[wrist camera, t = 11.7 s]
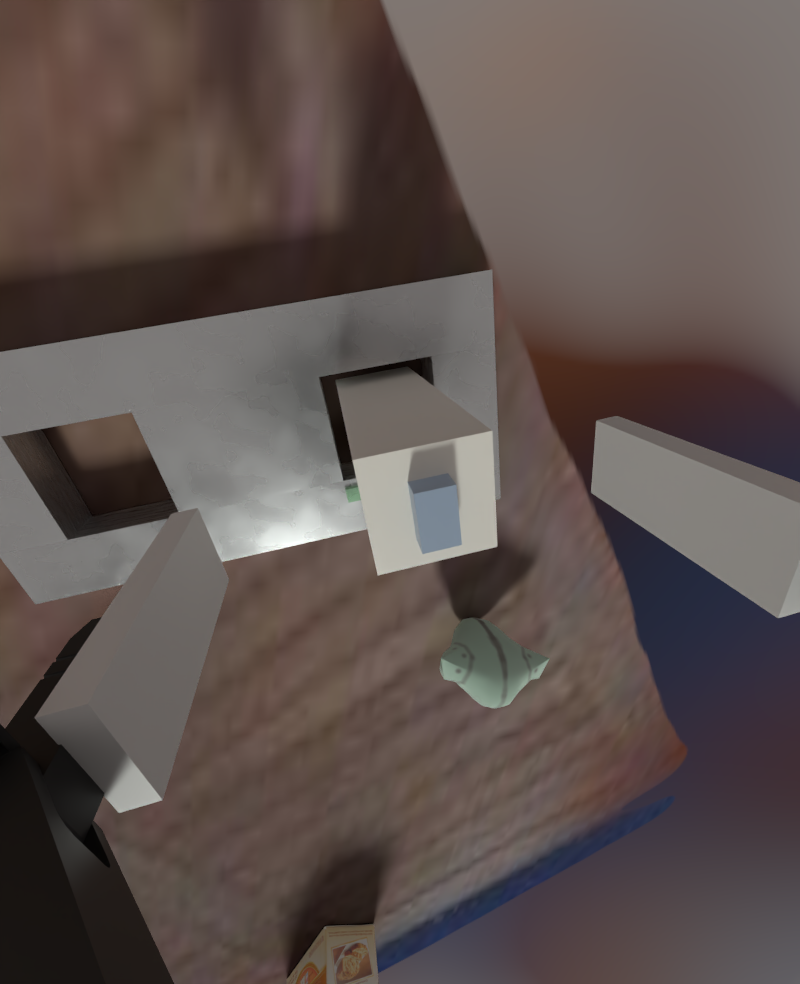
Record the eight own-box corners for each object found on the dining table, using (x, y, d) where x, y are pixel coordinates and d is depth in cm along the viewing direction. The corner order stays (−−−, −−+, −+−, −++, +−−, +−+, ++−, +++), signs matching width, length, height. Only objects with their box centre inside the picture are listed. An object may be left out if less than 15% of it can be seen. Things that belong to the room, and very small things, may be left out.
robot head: (521, 604, 31) (570, 676, 25) (505, 643, 33) (547, 719, 27) (425, 600, 29) (453, 677, 23) (413, 642, 31) (436, 724, 25)
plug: (350, 448, 23) (381, 591, 12) (335, 379, 21) (355, 471, 10) (416, 435, 24) (508, 560, 12) (407, 366, 22) (504, 439, 10)
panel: (62, 575, 23) (33, 606, 21) (-81, 365, 18) (-143, 375, 15) (484, 481, 26) (501, 500, 23) (473, 272, 20) (494, 269, 18)
